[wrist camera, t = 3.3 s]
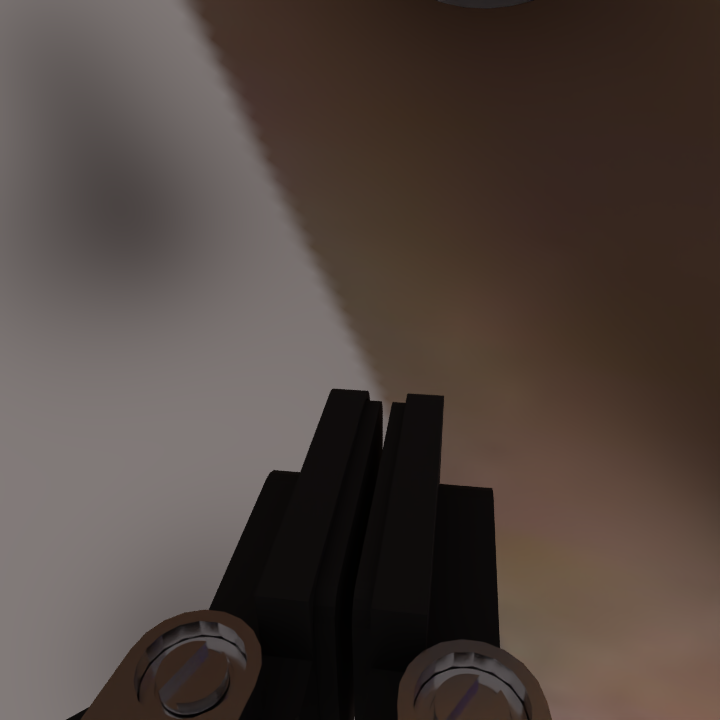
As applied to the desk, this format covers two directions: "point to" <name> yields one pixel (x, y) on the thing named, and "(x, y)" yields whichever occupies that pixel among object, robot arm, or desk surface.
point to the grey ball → (484, 3)
